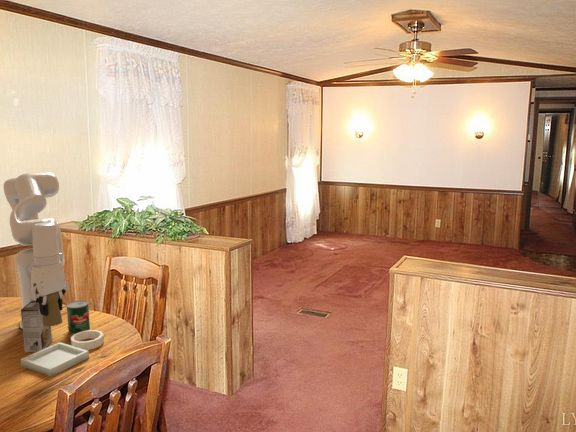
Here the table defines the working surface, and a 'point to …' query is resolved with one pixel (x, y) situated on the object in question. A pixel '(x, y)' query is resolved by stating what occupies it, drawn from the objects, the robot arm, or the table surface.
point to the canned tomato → (78, 316)
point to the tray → (54, 359)
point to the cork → (52, 311)
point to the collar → (88, 334)
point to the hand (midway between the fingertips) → (51, 311)
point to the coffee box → (34, 328)
